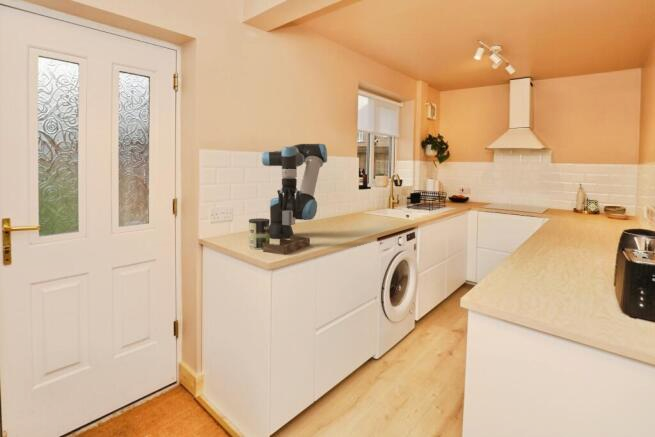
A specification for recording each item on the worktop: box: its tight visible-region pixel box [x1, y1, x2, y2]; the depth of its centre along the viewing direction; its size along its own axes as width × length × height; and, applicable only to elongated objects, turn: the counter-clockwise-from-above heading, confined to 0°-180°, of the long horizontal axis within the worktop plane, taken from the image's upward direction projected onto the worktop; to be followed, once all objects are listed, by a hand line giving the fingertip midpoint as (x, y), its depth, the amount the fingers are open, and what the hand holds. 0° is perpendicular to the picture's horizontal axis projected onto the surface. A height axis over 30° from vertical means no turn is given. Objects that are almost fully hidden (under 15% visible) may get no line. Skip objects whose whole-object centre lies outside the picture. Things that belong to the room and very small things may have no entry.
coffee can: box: [248, 217, 271, 250], centre depth 184 cm, size 10×10×14 cm
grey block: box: [282, 210, 294, 226], centre depth 187 cm, size 6×4×7 cm, turn 152°
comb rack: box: [262, 235, 311, 256], centre depth 182 cm, size 23×12×4 cm, turn 152°
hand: (289, 223), depth 188 cm, fingers closed on grey block, 4 cm apart
